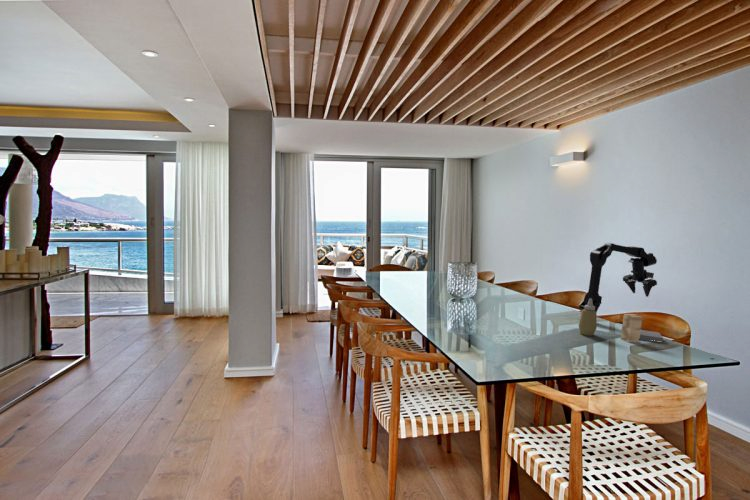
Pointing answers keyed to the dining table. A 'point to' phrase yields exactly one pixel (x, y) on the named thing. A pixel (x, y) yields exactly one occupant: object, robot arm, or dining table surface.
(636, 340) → the oak block
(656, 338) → the slate base
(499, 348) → the dining table surface
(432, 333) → the dining table surface
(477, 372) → the dining table surface
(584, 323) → the squeeze bottle
